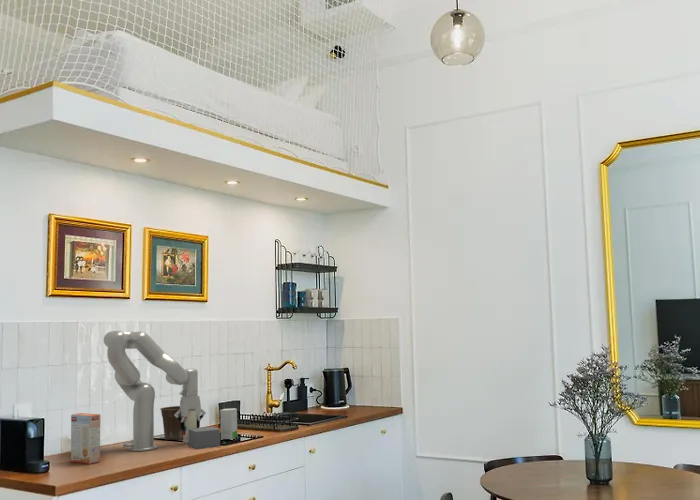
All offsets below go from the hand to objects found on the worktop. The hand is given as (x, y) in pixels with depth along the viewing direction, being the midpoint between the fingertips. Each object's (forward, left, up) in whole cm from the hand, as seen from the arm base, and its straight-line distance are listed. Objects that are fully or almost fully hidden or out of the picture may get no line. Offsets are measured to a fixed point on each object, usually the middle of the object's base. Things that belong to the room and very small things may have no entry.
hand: (190, 429), depth 357 cm
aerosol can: (0, 0, -7) cm, 7 cm away
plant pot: (-2, +20, -7) cm, 21 cm away
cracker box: (-53, -20, -7) cm, 57 cm away
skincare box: (+19, -3, -7) cm, 21 cm away
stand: (+3, -13, -7) cm, 15 cm away
